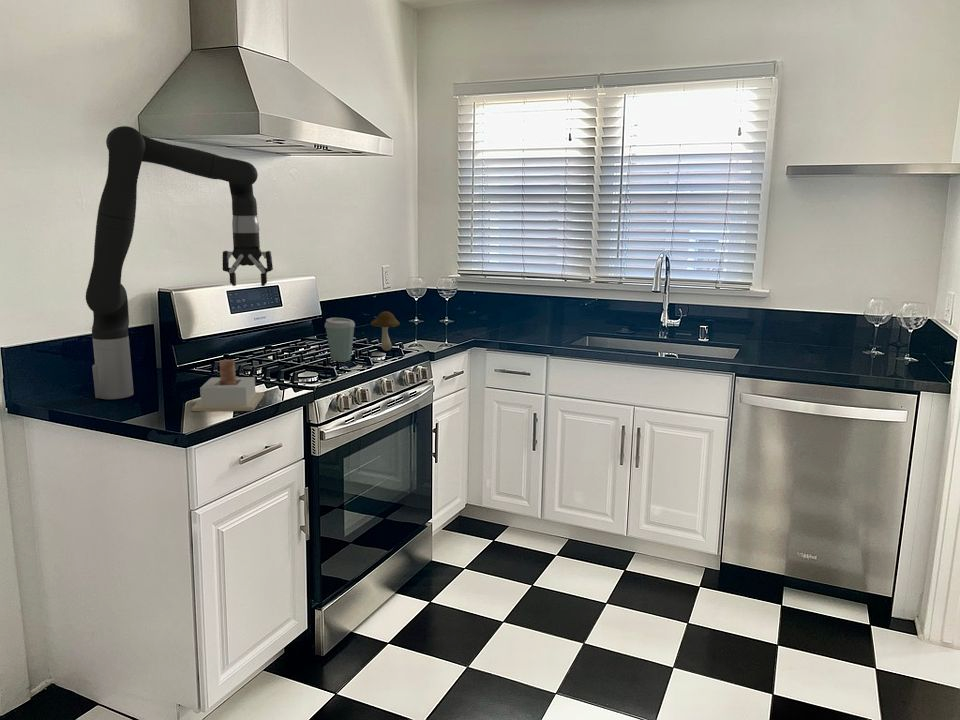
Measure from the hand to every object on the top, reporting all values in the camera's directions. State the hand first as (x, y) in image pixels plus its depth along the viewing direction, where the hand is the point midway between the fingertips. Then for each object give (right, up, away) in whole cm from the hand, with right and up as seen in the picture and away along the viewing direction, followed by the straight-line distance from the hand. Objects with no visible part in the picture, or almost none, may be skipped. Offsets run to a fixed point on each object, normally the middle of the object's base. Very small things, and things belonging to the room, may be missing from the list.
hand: (248, 285), depth 227 cm
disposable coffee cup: (+21, -23, +38) cm, 49 cm away
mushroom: (+34, -19, +57) cm, 69 cm away
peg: (0, -33, -17) cm, 38 cm away
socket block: (0, -34, -17) cm, 39 cm away
